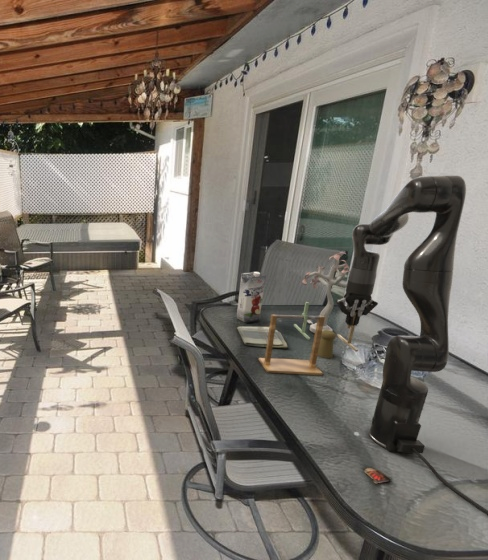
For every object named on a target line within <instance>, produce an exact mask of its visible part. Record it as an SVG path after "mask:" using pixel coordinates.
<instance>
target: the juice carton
mask: <svg viewBox="0 0 488 560" xmlns="http://www.w3.org/2000/svg"><path fill="white" fill-rule="evenodd" d="M266 278H267V275H266V274H263V273H261V272H259V271H251V272H241V273H240V283H239V292H238V300H237V310H236V319H237V320H239V321H241V322H242V323H245V324H250V323H255V322H259V321H260V318H261V312H262V305H263V297H264V290H265V283H266Z"/></svg>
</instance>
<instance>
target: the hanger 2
mask: <svg viewBox="0 0 488 560" xmlns="http://www.w3.org/2000/svg"><path fill="white" fill-rule="evenodd" d="M353 317H354V318H353V323H352V326H349V325H347V324H346V329H350V330H349V334H348V337H347V339H346V338H345V337H344V336H342V335H341V334H340V333H337V334H336V337H338V339H340V341H342V342H343V343H344V344H346V345H347V346H348V347H349V348H351V349H352V350H353V351H354V352H356V353H357V352H358V353H359V349H358V348H357V347H356V346H354V344H352V340H353V337H354V332H355V327H356V326H354V321H355V317H356V312H354V316H353Z"/></svg>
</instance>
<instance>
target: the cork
mask: <svg viewBox="0 0 488 560" xmlns="http://www.w3.org/2000/svg"><path fill="white" fill-rule="evenodd" d="M336 337H337V334H336V333H335V332H334V331H329V330H323V331H322V335H321V340H320V345H319V350H318V355H317V357H321V358H325V359H332V358H333V356H334V340H335V339H336Z"/></svg>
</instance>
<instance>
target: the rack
mask: <svg viewBox="0 0 488 560" xmlns="http://www.w3.org/2000/svg"><path fill="white" fill-rule="evenodd" d="M319 315H320V314H319ZM319 315H308V318H307V320H316V323H317V325H316V331H315V333H314V336H313V341H312V348H311V352H310V359H297V358H295V359H294V358H273V357H272V354H273V348H272V347H273V341H274V334H275V330H276V327H277V321H278V319H293V320H294V319H296V320H299V319H301V320H304V316H302V315H297V314H295V315H292V314H291V315H289V314H274V313H273V314H271V315H270V321H269V326H268V327H269V334H268V341H267V347H265V348H266V349H265V356H264V357H258V361H259V362H260V364H261V365H262V367H263V368H264V370H265V371H266V373H269V374H286V375H287V374H289V375H292V374H293V375H308V376H311V375H312V376H323V372H322V371H321V370H320V369H319V367H317V365H316V364H317V360H318V350H319V345H320V340H321V338H322V337H321V335H322V330H323V325H324V319H325V317H324V316H319Z"/></svg>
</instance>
